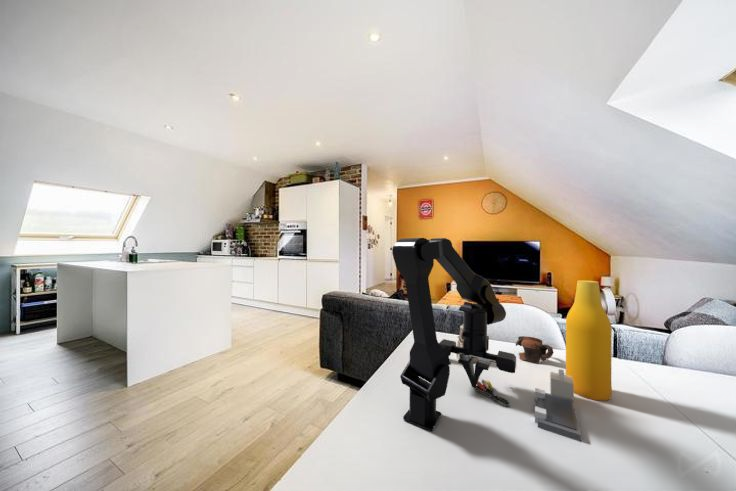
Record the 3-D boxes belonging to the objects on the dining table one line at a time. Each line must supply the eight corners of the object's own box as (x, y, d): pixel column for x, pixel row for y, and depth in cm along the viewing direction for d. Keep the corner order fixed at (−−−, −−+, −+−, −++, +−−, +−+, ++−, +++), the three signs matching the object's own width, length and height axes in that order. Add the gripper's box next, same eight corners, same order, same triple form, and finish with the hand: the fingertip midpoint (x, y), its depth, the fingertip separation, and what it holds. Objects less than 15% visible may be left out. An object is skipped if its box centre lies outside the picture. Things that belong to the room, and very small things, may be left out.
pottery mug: (509, 358, 88) (509, 334, 92) (524, 365, 92) (524, 342, 96) (547, 362, 79) (546, 335, 82) (563, 370, 82) (561, 344, 86)
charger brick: (573, 404, 61) (573, 377, 61) (550, 398, 64) (551, 371, 64) (571, 396, 65) (571, 369, 65) (550, 390, 67) (550, 365, 67)
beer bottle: (562, 378, 74) (563, 278, 74) (605, 388, 69) (606, 280, 69) (568, 394, 66) (568, 281, 66) (617, 406, 61) (617, 284, 61)
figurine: (451, 355, 89) (451, 321, 89) (466, 352, 92) (466, 319, 92) (467, 364, 82) (467, 326, 82) (483, 360, 85) (483, 324, 85)
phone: (581, 441, 49) (581, 429, 49) (534, 426, 54) (534, 414, 54) (572, 405, 61) (572, 394, 61) (535, 394, 65) (535, 385, 65)
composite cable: (512, 408, 60) (512, 397, 60) (494, 410, 59) (494, 399, 59) (486, 385, 70) (486, 376, 70) (470, 387, 69) (470, 378, 69)
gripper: (517, 326, 69) (516, 384, 68) (447, 315, 79) (446, 365, 79) (515, 338, 59) (514, 405, 59) (436, 323, 69) (435, 381, 69)
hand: (474, 387), depth 67 cm, fingers closed
